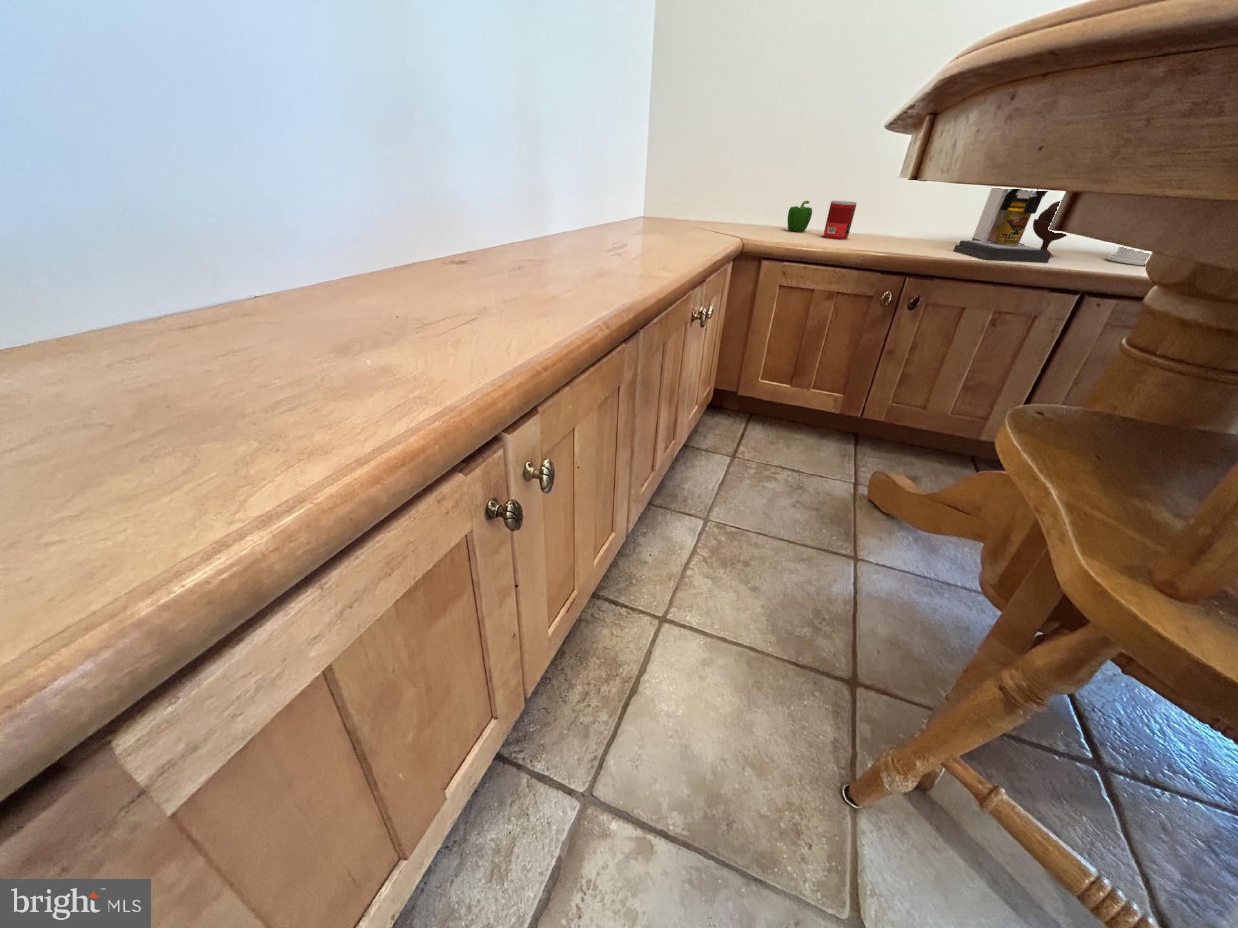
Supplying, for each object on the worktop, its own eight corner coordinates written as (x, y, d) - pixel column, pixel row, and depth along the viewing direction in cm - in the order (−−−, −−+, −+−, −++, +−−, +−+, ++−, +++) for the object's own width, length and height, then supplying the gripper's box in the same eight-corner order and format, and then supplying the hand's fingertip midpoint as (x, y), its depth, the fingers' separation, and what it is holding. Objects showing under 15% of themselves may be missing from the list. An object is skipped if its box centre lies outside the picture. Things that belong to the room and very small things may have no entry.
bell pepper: (787, 232, 178) (794, 201, 173) (782, 229, 185) (788, 199, 180) (811, 233, 178) (818, 202, 173) (804, 230, 185) (811, 200, 180)
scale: (1010, 253, 155) (1014, 242, 153) (1047, 262, 141) (1053, 251, 140) (953, 250, 154) (957, 240, 153) (985, 260, 141) (990, 248, 139)
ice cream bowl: (1070, 259, 149) (1097, 203, 141) (1029, 256, 151) (1054, 200, 143) (1051, 253, 158) (1076, 200, 150) (1013, 251, 159) (1035, 198, 152)
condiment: (1010, 246, 142) (1030, 199, 136) (981, 242, 149) (998, 196, 142) (1025, 246, 145) (1045, 199, 139) (996, 241, 151) (1014, 197, 145)
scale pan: (1008, 247, 152) (1010, 242, 152) (1038, 254, 141) (1041, 249, 141) (966, 245, 152) (968, 240, 152) (993, 252, 141) (995, 247, 140)
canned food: (849, 240, 166) (859, 203, 160) (825, 238, 167) (833, 201, 161) (844, 237, 173) (853, 201, 167) (820, 235, 174) (829, 200, 168)
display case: (982, 248, 162) (1033, 117, 143) (970, 244, 170) (1017, 120, 152) (1021, 251, 160) (1078, 119, 141) (1007, 246, 169) (1059, 121, 150)
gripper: (1086, 139, 125) (1052, 215, 134) (1037, 141, 140) (1009, 209, 149) (1057, 138, 125) (1025, 214, 134) (1011, 140, 140) (985, 208, 149)
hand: (1017, 211), depth 142 cm, fingers open, 9 cm apart
